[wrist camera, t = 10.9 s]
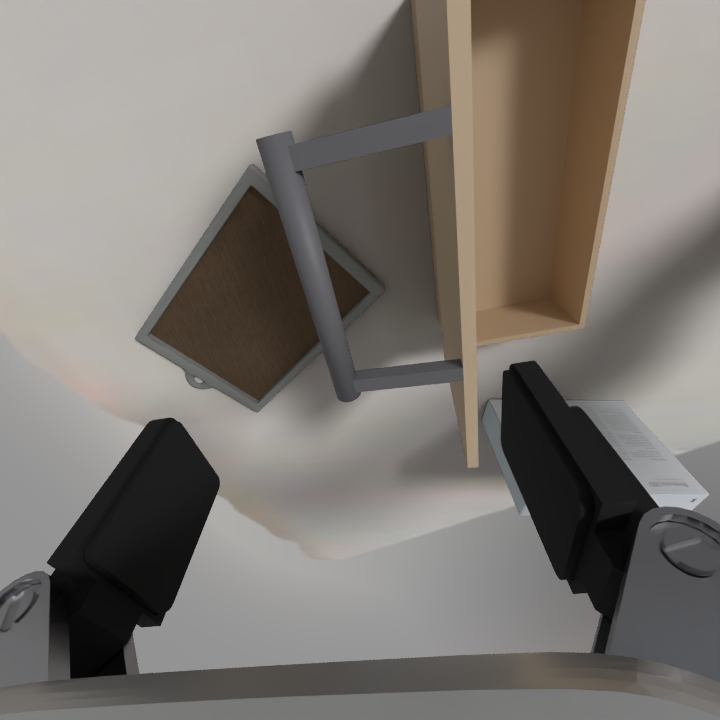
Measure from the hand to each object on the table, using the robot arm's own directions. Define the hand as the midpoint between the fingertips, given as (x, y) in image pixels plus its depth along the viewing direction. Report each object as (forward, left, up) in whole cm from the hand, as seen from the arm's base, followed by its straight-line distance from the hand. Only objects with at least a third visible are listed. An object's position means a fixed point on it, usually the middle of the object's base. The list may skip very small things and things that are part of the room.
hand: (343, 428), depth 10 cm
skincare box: (-24, +35, -33) cm, 53 cm away
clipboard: (+16, +10, -33) cm, 38 cm away
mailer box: (-15, 0, -32) cm, 35 cm away
